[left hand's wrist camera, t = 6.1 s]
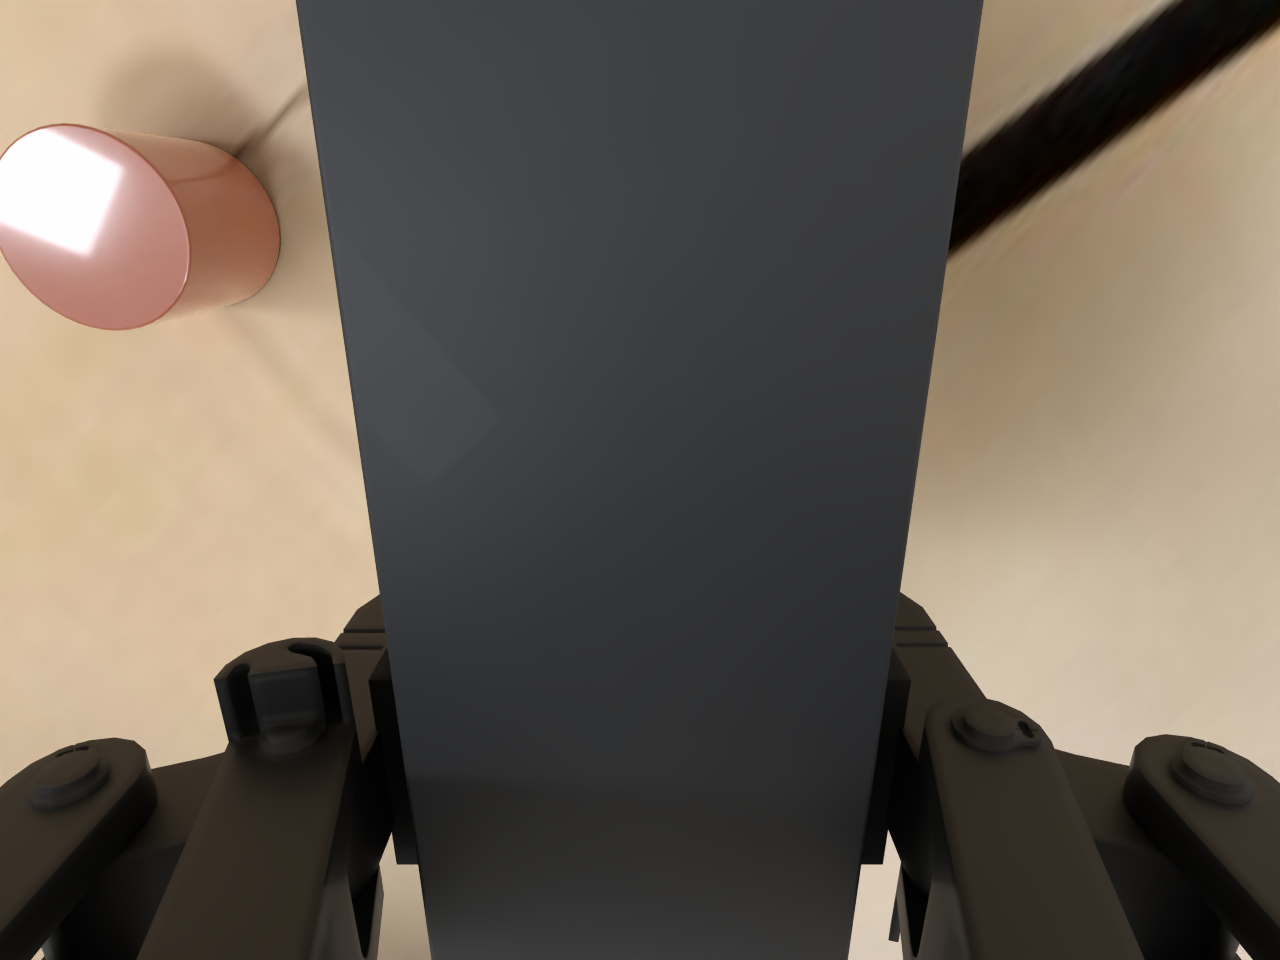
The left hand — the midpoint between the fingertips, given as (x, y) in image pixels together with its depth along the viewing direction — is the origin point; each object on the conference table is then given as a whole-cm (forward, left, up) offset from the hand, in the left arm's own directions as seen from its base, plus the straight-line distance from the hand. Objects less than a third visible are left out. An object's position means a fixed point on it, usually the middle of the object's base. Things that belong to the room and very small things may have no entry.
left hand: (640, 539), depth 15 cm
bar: (+8, 0, 0) cm, 8 cm away
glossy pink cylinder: (+6, +14, -11) cm, 19 cm away
